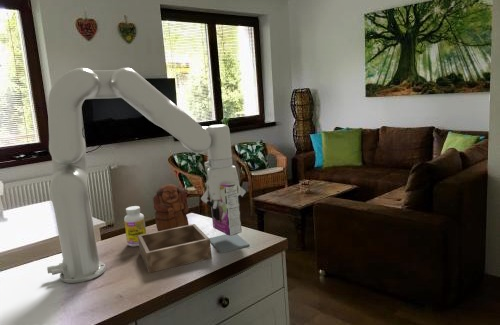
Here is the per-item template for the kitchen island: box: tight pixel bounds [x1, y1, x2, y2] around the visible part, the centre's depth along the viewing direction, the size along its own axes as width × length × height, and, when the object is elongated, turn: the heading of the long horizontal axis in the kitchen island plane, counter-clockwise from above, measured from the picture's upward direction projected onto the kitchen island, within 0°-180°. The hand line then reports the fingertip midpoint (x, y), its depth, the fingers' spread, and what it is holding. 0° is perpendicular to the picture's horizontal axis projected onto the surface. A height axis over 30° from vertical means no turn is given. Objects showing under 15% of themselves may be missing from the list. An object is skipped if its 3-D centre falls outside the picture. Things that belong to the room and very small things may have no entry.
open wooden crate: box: [138, 223, 212, 274], centre depth 131 cm, size 19×17×6 cm
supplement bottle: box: [124, 205, 147, 247], centre depth 143 cm, size 7×7×13 cm
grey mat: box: [208, 233, 250, 254], centre depth 138 cm, size 10×13×1 cm
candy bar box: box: [209, 183, 243, 236], centre depth 136 cm, size 11×5×16 cm, turn 34°
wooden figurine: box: [152, 183, 190, 231], centre depth 151 cm, size 12×6×18 cm, turn 125°
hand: (225, 216), depth 136 cm, fingers closed on candy bar box, 5 cm apart
